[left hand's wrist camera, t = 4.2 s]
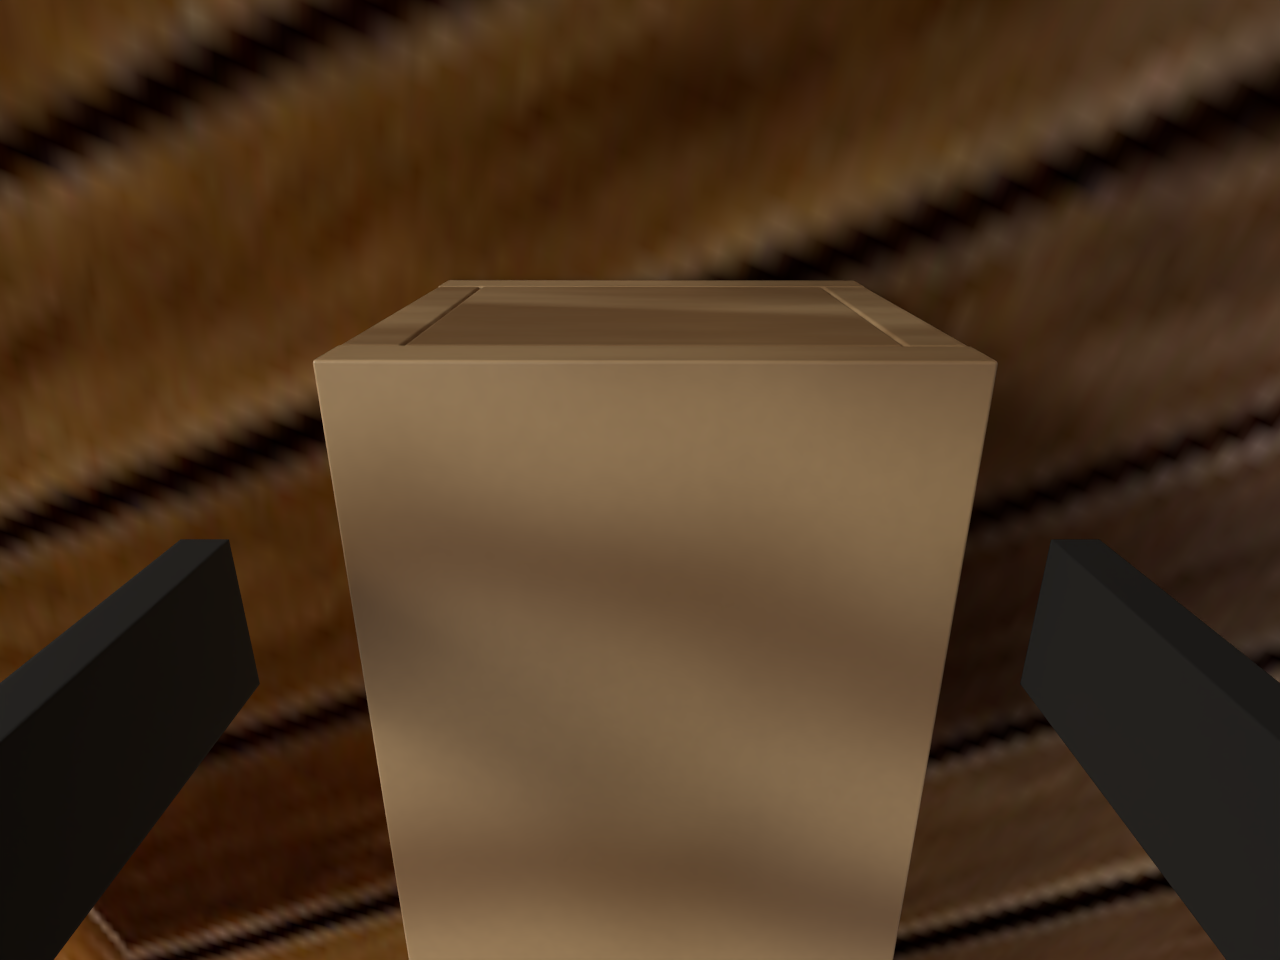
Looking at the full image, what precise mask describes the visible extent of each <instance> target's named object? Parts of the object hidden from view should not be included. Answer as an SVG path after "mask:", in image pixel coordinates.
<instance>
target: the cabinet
mask: <svg viewBox="0 0 1280 960" xmlns="http://www.w3.org/2000/svg"><path fill="white" fill-rule="evenodd" d="M313 366H314V372H315V378H316V384H317V390H318V397H319V403H320V409H321V415H322V421H323V428H324V434H325V440H326V446H327V452H328V459H329V465H330V471H331V477H332V483H333V490H334V496H335V502H336V508H337V515H338V521H339V527H340V533H341V539H342V546H343V552H344V558H345V564H346V570H347V577H348V583H349V589H350V595H351V601H352V608H353V614H354V620H355V626H356V632H357V639H358V645H359V651H360V657H361V664H362V670H363V676H364V682H365V688H366V695H367V701H368V707H369V713H370V719H371V726H372V732H373V738H374V744H375V750H376V757H377V763H378V769H379V775H380V782H381V788H382V794H383V800H384V806H385V813H386V819H387V825H388V831H389V837H390V844H391V850H392V856H393V862H394V868H395V875H396V881H397V887H398V893H399V899H400V906H401V912H402V918H403V924H404V931H405V937H406V943H407V949H408V955H409V960H893V956H894V950H895V944H896V939H897V933H898V927H899V922H900V916H901V910H902V905H903V899H904V893H905V888H906V882H907V876H908V871H909V865H910V859H911V854H912V848H913V842H914V837H915V831H916V825H917V819H918V814H919V808H920V802H921V797H922V791H923V785H924V780H925V774H926V768H927V763H928V757H929V751H930V746H931V740H932V734H933V729H934V723H935V717H936V712H937V706H938V700H939V695H940V689H941V683H942V678H943V672H944V666H945V661H946V655H947V649H948V644H949V638H950V632H951V627H952V621H953V615H954V610H955V604H956V598H957V593H958V587H959V581H960V576H961V570H962V564H963V559H964V553H965V547H966V541H967V536H968V530H969V524H970V519H971V513H972V507H973V502H974V496H975V490H976V485H977V479H978V473H979V468H980V462H981V456H982V451H983V445H984V439H985V434H986V428H987V422H988V417H989V411H990V405H991V400H992V394H993V388H994V383H995V377H996V371H997V366H998V363H997V361H995V360H994V359H992V358H990V357H988V356H986V355H985V354H983V353H981V352H979V351H978V350H976V349H974V348H972V347H968V346H967V345H965V344H963V343H961V342H960V341H958V340H956V339H954V338H953V337H951V336H949V335H947V334H946V333H944V332H942V331H940V330H939V329H937V328H935V327H933V326H931V325H930V324H928V323H926V322H924V321H923V320H921V319H919V318H917V317H916V316H914V315H912V314H910V313H909V312H907V311H905V310H903V309H902V308H900V307H898V306H896V305H894V304H893V303H891V302H889V301H887V300H886V299H884V298H882V297H880V296H879V295H877V294H875V293H873V292H872V291H870V290H868V289H866V288H865V287H864V286H862V285H861V284H859V283H857V282H855V281H703V280H449V281H447V282H445V283H444V284H442V285H440V286H439V287H438V288H437V289H435V290H433V291H432V292H430V293H428V294H427V295H425V296H423V297H422V298H420V299H418V300H416V301H415V302H413V303H411V304H410V305H408V306H406V307H405V308H403V309H401V310H400V311H398V312H396V313H395V314H393V315H391V316H390V317H388V318H386V319H384V320H383V321H381V322H379V323H378V324H376V325H374V326H373V327H371V328H369V329H368V330H366V331H364V332H363V333H361V334H359V335H358V336H356V337H354V338H353V339H351V340H349V341H347V342H346V343H344V344H342V345H341V346H337V347H335V348H334V349H332V350H330V351H329V352H327V353H325V354H324V355H322V356H320V357H318V358H317V359H315V360H314V361H313Z"/></svg>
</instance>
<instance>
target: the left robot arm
mask: <svg viewBox="0 0 1280 960" xmlns="http://www.w3.org/2000/svg"><path fill="white" fill-rule="evenodd" d="M259 684H260V683H259V678H258V674H257V669H256V664H255V660H254V655H253V650H252V646H251V641H250V636H249V632H248V627H247V622H246V618H245V613H244V608H243V604H242V599H241V594H240V590H239V585H238V580H237V576H236V571H235V566H234V562H233V557H232V552H231V548H230V543H229V540H180V541H178V542H177V543H176V544H175V545H173V546H172V547H171V548H170V549H168V550H167V551H166V552H164V553H163V554H162V555H161V556H159V557H158V558H157V559H156V560H154V561H153V562H152V563H151V564H149V565H148V566H147V567H146V568H144V569H143V570H142V571H141V572H139V573H138V574H137V575H136V576H134V577H133V578H132V579H131V580H129V581H128V582H127V583H125V584H124V585H123V586H122V587H120V588H119V589H118V590H117V591H115V592H114V593H113V594H112V595H110V596H109V597H108V598H107V599H105V600H104V601H103V602H102V603H100V604H99V605H98V606H97V607H95V608H94V609H93V610H92V611H90V612H89V613H88V614H87V615H85V616H84V617H83V618H81V619H80V620H79V621H78V622H76V623H75V624H74V625H73V626H71V627H70V628H69V629H68V630H66V631H65V632H64V633H63V634H61V635H60V636H59V637H58V638H56V639H55V640H54V641H53V642H51V643H50V644H49V645H48V646H46V647H45V648H44V649H42V650H41V651H40V652H39V653H37V654H36V655H35V656H34V657H32V658H31V659H30V660H29V661H27V662H26V663H25V664H24V665H22V666H21V667H20V668H19V669H17V670H16V671H15V672H14V673H12V674H11V675H10V676H9V677H7V678H6V679H5V680H3V681H2V682H1V683H0V960H54V959H55V957H56V956H57V955H58V953H59V952H60V950H61V949H62V948H63V946H64V945H65V944H66V942H67V941H68V940H69V938H70V937H71V936H72V934H73V933H74V932H75V930H76V929H77V928H78V926H79V925H80V924H81V922H82V921H83V920H84V918H85V917H86V916H87V914H88V913H89V912H90V910H91V909H92V908H93V906H94V905H95V904H96V902H97V901H98V900H99V898H100V897H101V896H102V894H103V893H104V892H105V890H106V889H107V888H108V886H109V885H110V884H111V882H112V881H113V880H114V878H115V877H116V875H117V874H118V873H119V871H120V870H121V869H122V867H123V866H124V865H125V863H126V862H127V861H128V859H129V858H130V857H131V855H132V854H133V853H134V851H135V850H136V849H137V847H138V846H139V845H140V843H141V842H142V841H143V839H144V838H145V837H146V835H147V834H148V833H149V831H150V830H151V829H152V827H153V826H154V825H155V823H156V822H157V821H158V819H159V818H160V817H161V815H162V814H163V813H164V811H165V810H166V809H167V807H168V806H169V805H170V803H171V802H172V801H173V799H174V798H175V796H176V795H177V794H178V792H179V791H180V790H181V788H182V787H183V786H184V784H185V783H186V782H187V780H188V779H189V778H190V776H191V775H192V774H193V772H194V771H195V770H196V768H197V767H198V766H199V764H200V763H201V762H202V760H203V759H204V758H205V756H206V755H207V754H208V752H209V751H210V750H211V748H212V747H213V746H214V744H215V743H216V742H217V740H218V739H219V738H220V736H221V735H222V734H223V732H224V731H225V730H226V728H227V727H228V726H229V724H230V723H231V722H232V720H233V719H234V717H235V716H236V715H237V713H238V712H239V711H240V709H241V708H242V707H243V705H244V704H245V703H246V701H247V700H248V699H249V697H250V696H251V695H252V693H253V692H254V691H255V689H256V688H257V687H258V685H259ZM1020 684H1021V685H1022V687H1023V688H1024V689H1025V691H1026V692H1027V693H1028V695H1029V696H1030V697H1031V699H1032V700H1033V701H1034V703H1035V704H1036V705H1037V707H1038V708H1039V709H1040V711H1041V712H1042V713H1043V715H1044V716H1045V717H1046V719H1047V720H1048V722H1049V723H1050V724H1051V726H1052V727H1053V728H1054V730H1055V731H1056V732H1057V734H1058V735H1059V736H1060V738H1061V739H1062V740H1063V742H1064V743H1065V744H1066V746H1067V747H1068V748H1069V750H1070V751H1071V752H1072V754H1073V755H1074V756H1075V758H1076V759H1077V760H1078V762H1079V763H1080V764H1081V766H1082V767H1083V768H1084V770H1085V771H1086V772H1087V774H1088V775H1089V776H1090V778H1091V779H1092V780H1093V782H1094V783H1095V784H1096V786H1097V787H1098V788H1099V790H1100V791H1101V792H1102V794H1103V795H1104V796H1105V798H1106V799H1107V801H1108V802H1109V803H1110V805H1111V806H1112V807H1113V809H1114V810H1115V811H1116V813H1117V814H1118V815H1119V817H1120V818H1121V819H1122V821H1123V822H1124V823H1125V825H1126V826H1127V827H1128V829H1129V830H1130V831H1131V833H1132V834H1133V835H1134V837H1135V838H1136V839H1137V841H1138V842H1139V843H1140V845H1141V846H1142V847H1143V849H1144V850H1145V851H1146V853H1147V854H1148V855H1149V857H1150V858H1151V859H1152V861H1153V862H1154V863H1155V865H1156V866H1157V867H1158V869H1159V870H1160V871H1161V873H1162V874H1163V876H1164V877H1165V878H1166V880H1167V881H1168V882H1169V884H1170V885H1171V886H1172V888H1173V889H1174V890H1175V892H1176V893H1177V894H1178V896H1179V897H1180V898H1181V900H1182V901H1183V902H1184V904H1185V905H1186V906H1187V908H1188V909H1189V910H1190V912H1191V913H1192V914H1193V916H1194V917H1195V918H1196V920H1197V921H1198V922H1199V924H1200V925H1201V926H1202V928H1203V929H1204V930H1205V932H1206V933H1207V934H1208V936H1209V937H1210V938H1211V940H1212V941H1213V942H1214V944H1215V945H1216V946H1217V948H1218V949H1219V950H1220V952H1221V953H1222V955H1223V956H1224V957H1225V959H1226V960H1280V683H1279V682H1278V681H1277V680H1275V679H1274V678H1273V677H1271V676H1270V675H1269V674H1268V673H1266V672H1265V671H1264V670H1263V669H1261V668H1260V667H1259V666H1258V665H1256V664H1255V663H1254V662H1253V661H1251V660H1250V659H1249V658H1248V657H1246V656H1245V655H1244V654H1243V653H1241V652H1240V651H1239V650H1238V649H1236V648H1235V647H1234V646H1232V645H1231V644H1230V643H1229V642H1227V641H1226V640H1225V639H1224V638H1222V637H1221V636H1220V635H1219V634H1217V633H1216V632H1215V631H1214V630H1212V629H1211V628H1210V627H1209V626H1207V625H1206V624H1205V623H1204V622H1202V621H1201V620H1200V619H1199V618H1197V617H1196V616H1195V615H1193V614H1192V613H1191V612H1190V611H1188V610H1187V609H1186V608H1185V607H1183V606H1182V605H1181V604H1180V603H1178V602H1177V601H1176V600H1175V599H1173V598H1172V597H1171V596H1170V595H1168V594H1167V593H1166V592H1165V591H1163V590H1162V589H1161V588H1160V587H1158V586H1157V585H1156V584H1154V583H1153V582H1152V581H1151V580H1149V579H1148V578H1147V577H1146V576H1144V575H1143V574H1142V573H1141V572H1139V571H1138V570H1137V569H1136V568H1134V567H1133V566H1132V565H1131V564H1129V563H1128V562H1127V561H1126V560H1124V559H1123V558H1122V557H1121V556H1119V555H1118V554H1117V553H1115V552H1114V551H1113V550H1112V549H1110V548H1109V547H1108V546H1107V545H1105V544H1104V543H1103V542H1102V541H1100V540H1051V543H1050V548H1049V552H1048V557H1047V562H1046V566H1045V571H1044V576H1043V580H1042V585H1041V590H1040V594H1039V599H1038V604H1037V608H1036V613H1035V618H1034V622H1033V627H1032V632H1031V636H1030V641H1029V646H1028V650H1027V655H1026V660H1025V664H1024V669H1023V674H1022V678H1021V683H1020Z"/></svg>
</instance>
